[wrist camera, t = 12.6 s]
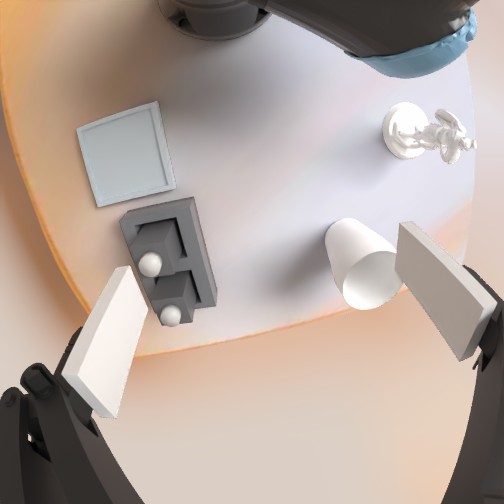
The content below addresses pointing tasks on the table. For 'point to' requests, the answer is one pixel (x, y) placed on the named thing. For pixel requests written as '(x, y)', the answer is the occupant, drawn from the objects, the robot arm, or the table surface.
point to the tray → (127, 155)
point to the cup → (362, 264)
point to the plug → (175, 298)
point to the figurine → (423, 133)
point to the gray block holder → (170, 246)
